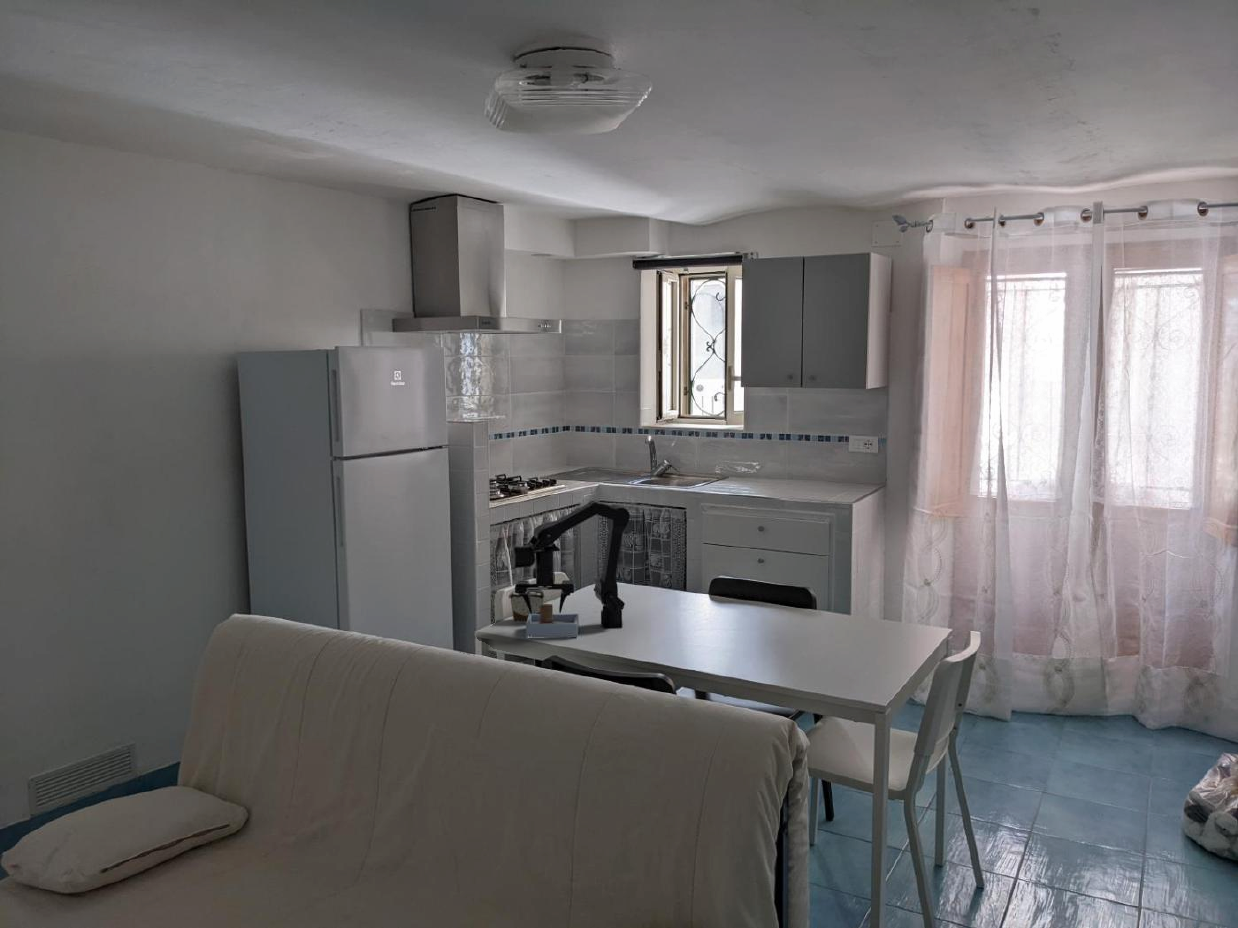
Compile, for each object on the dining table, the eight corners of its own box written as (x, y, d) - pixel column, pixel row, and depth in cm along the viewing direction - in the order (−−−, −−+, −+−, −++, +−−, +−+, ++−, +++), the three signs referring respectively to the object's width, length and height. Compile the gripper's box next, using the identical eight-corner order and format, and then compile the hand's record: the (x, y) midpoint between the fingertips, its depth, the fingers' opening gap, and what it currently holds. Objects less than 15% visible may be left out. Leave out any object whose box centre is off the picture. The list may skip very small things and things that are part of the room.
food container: (549, 617, 321) (548, 588, 320) (545, 622, 315) (545, 593, 314) (513, 616, 322) (512, 587, 321) (509, 621, 316) (508, 592, 315)
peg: (553, 630, 306) (552, 603, 305) (552, 634, 302) (551, 607, 301) (541, 630, 306) (540, 603, 305) (539, 634, 302) (539, 607, 301)
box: (578, 627, 310) (578, 613, 309) (576, 637, 299) (576, 624, 298) (529, 627, 310) (529, 614, 309) (526, 638, 299) (525, 624, 298)
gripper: (575, 559, 309) (576, 605, 311) (518, 559, 309) (519, 606, 312) (573, 567, 298) (574, 615, 300) (514, 567, 298) (515, 616, 300)
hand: (545, 612), depth 303 cm, fingers open, 9 cm apart
